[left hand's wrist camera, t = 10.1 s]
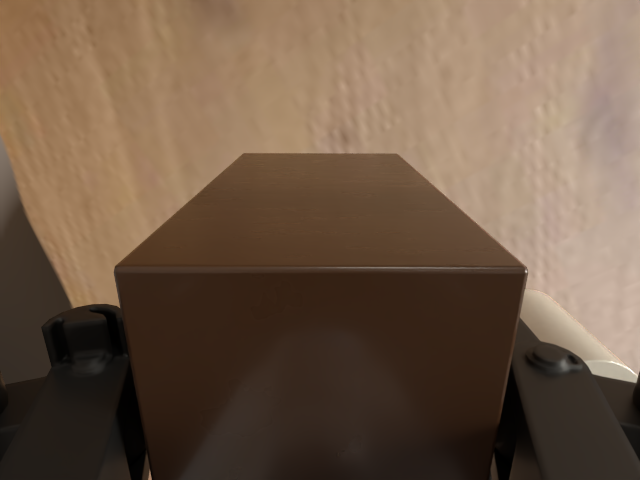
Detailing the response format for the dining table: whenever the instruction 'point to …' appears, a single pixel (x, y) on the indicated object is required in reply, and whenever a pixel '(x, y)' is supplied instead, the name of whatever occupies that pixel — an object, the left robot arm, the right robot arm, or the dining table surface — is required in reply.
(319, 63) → the dining table surface
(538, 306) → the white canister
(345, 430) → the walnut beam
